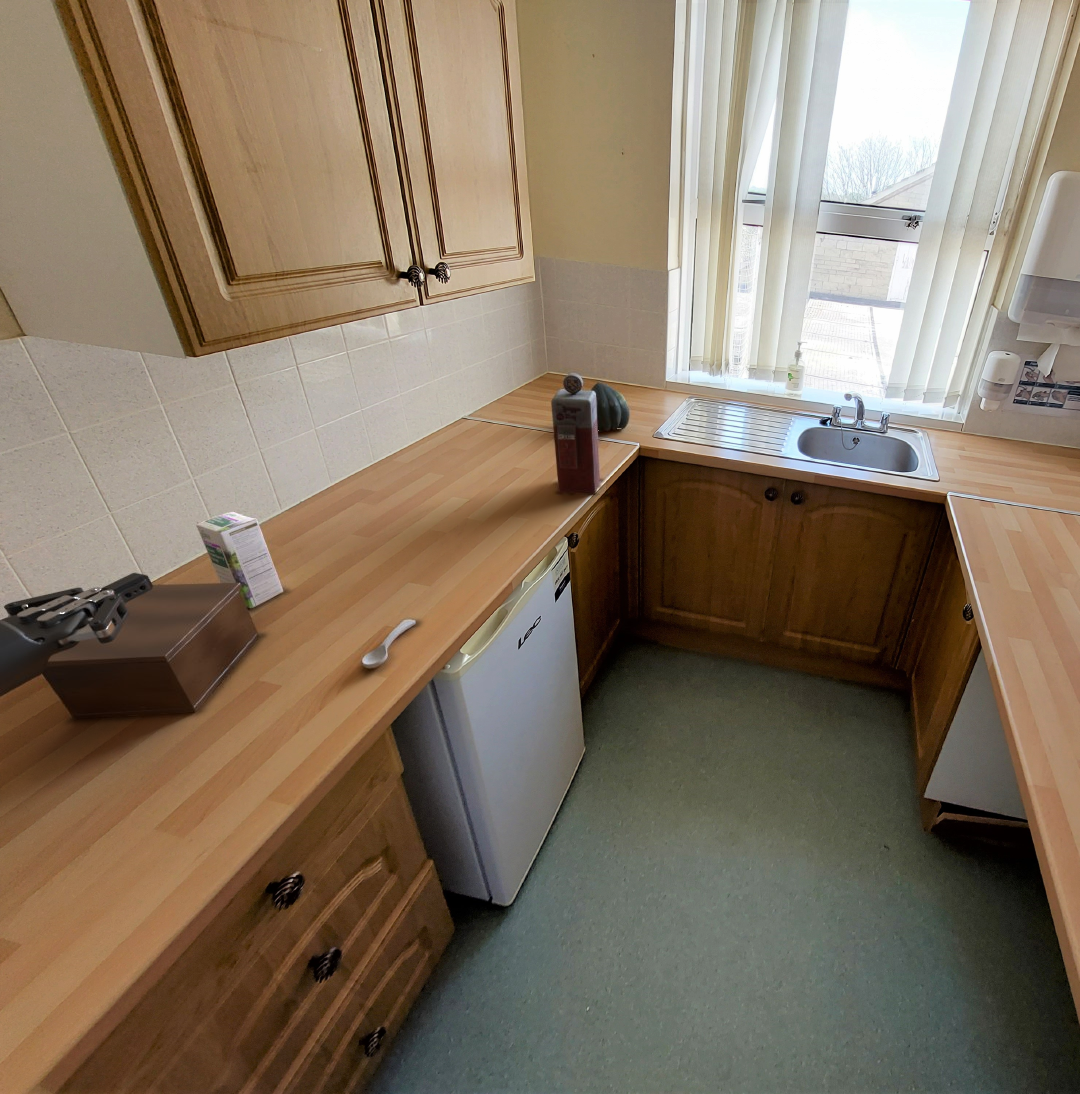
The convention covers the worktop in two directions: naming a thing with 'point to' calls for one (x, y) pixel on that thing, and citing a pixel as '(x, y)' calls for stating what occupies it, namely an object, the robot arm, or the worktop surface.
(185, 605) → the lid
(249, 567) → the syrup box
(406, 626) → the spoon
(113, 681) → the walnut box
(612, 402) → the squash
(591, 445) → the vintage gas pump
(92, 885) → the worktop surface
